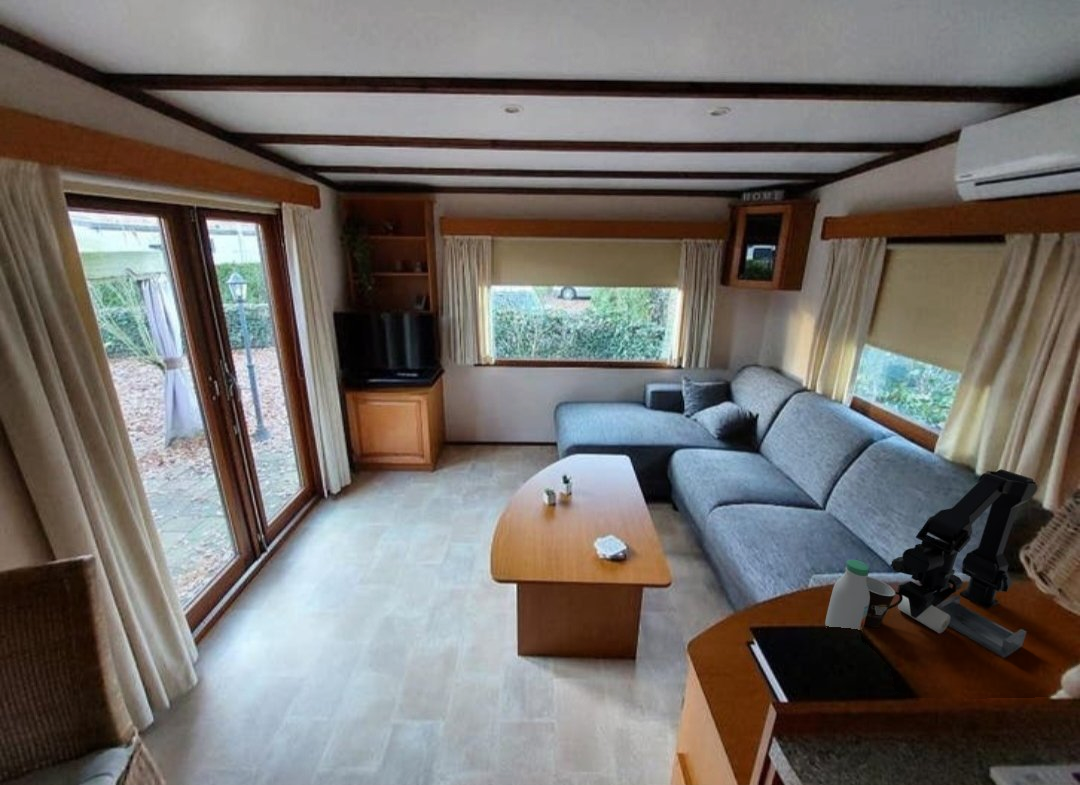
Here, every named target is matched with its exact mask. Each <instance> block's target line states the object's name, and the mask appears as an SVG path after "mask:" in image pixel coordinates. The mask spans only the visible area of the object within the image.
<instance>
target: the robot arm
mask: <svg viewBox="0 0 1080 785" xmlns="http://www.w3.org/2000/svg"><path fill="white" fill-rule="evenodd" d="M1037 490H1038V484H1037V483H1036V482H1035V481H1034V479H1033V478H1031V477H1028V476H1025V475H1022V474H1018V473H1015V472H1011V471H1008V470H1005V469H1002V468H1001V469H998V470H997V471H994V470H986V472H984V473H982V474H981V475H980V477H979V478H978V481H977V482H976V484H975V485H973V487H972V488H971V489H970V490H969V491H967V493H965V494H964V495H963V497H962V498H960V499H959V501H958V502H957V503H956V504H955V505H954V506H952V507H951V508H946V509H940V510H939V511H937V513H935V514H934V515H932V516H930V517H929V518H928V519H927V520H926V522H924V525H923V526H922V527H921V529H920V530H919V531H918V532H917V534H916V535H915V538H916V539H917V540H920V541H921V543H917V544H915V546H914V547H911V548H906V549H905V550H904V552H902V556H898V557H895V558H893V559H892V561H891V563H890V567H891V569H892V570H893V571H894V572H895V573H897V574H899V573H900V574H905V575H909V576H911V579H912V580H914V581H917V582H918V583H919V584H920V585H919V584H917V583H915V582H913V581H912V580H910V581H909V580H908V581H904V582H903V583H900V584H898V587H897V591H896V592H898V593H900V594H901V595H902V596H905V597H906V598H908V600H909V605H910V612H911V616H912V617H914V618H917V617H918V616H919V615H921V614H922V613H923V612H924V611H925V610H926V609H928V608H929V607H930V606H931V605H932V606H934V607H936V608H937V607H938V605H939V604H940V603H942V602H944V601H946V600H948V599H949V598H950V597H952V595H953V594H955V593H956V592H957V591H959V590H960V589H961V588H962V585H963V580H961V578H960V577H959V576H957V575H955V571H956V570H955V569H953V568H954V565H955V562H956V560H957V556H958V554H959V553H960V552H961V551H962V550H963V549H964V548H965V547H966V545H967V544H968V543H969V542H970V541H971V539H972V538H971V537H972V535H973V524H974V523H975V522H976V521H977V519H978V518H979V517H981V515H982V514H984V512H985V511H986V510H988V508H989V507H990V508H989V511H988V512H989V513H988V516H987V518H986V523H985V525H984V529H983V532H982V536H981V539H980V541H979V544H978V547H977V548H975V549H973V550H971V551H969V552H968V553H966V556H965V557H964V558H963V561H962V566H961V567H962V568H961V569H962V570H961V573H962V574H964V575H966V576H968V577H970V578H969V580H968V584H967V587H966V589H964V590H962V591H960V592H959V595H960V596H962V597H964V598H965V599H968V600H969V601H972V602H974V603H975V604H978V605H979V606H981V607H983V608H985V609H988V610H989V609H991V608H993V607H995V606H996V605H998V604H999V603H1000V601H999V600H998V599H995V598H996V596H997V592H1005V593H1007V592H1008V593H1009V588H1010V587H1011V584H1012V583H1013V581H1012V579H1011V577H1010V574H1009V573H1008V568H1009V563H1008V561H1007V559H1006V556H1005V554H1004V551H1005V549H1006V545H1007V542H1008V539H1009V536H1010V532H1011V530H1012V527H1013V524H1014V520H1015V517H1016V515H1017V511H1018V508H1019V507H1020V506H1021V505H1023V504H1025V503H1026V502H1029V501H1030V500H1031V498H1032V497H1033V496H1034V495H1035V494H1036V492H1037ZM928 534H930V535H928ZM951 585H952V587H951ZM911 616H910V617H911ZM912 617H911V618H912ZM914 618H913V619H914Z"/></svg>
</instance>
